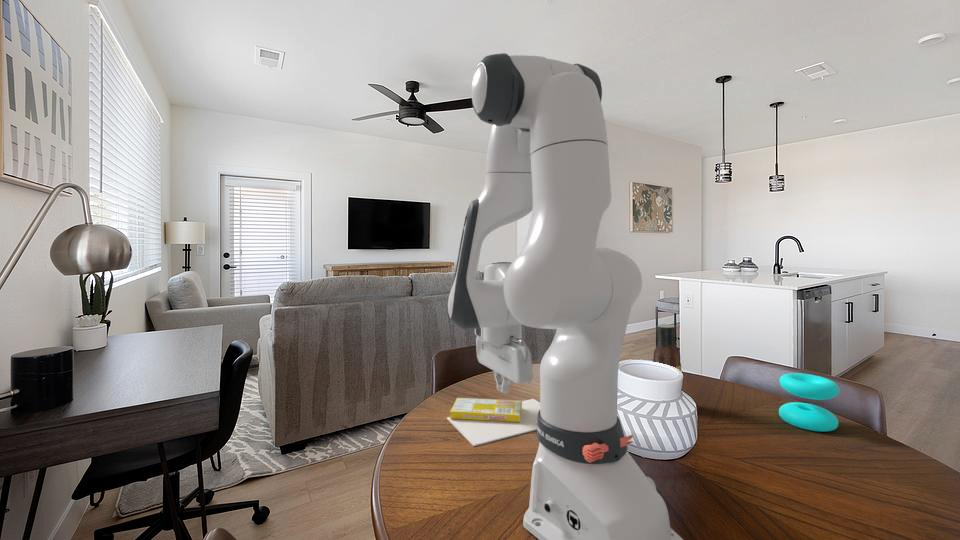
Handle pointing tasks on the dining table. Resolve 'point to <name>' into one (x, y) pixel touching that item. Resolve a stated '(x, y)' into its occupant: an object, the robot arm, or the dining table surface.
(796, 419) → the donuts
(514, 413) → the candy box
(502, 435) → the rubber mat
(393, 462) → the dining table surface
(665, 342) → the sauce bottle
